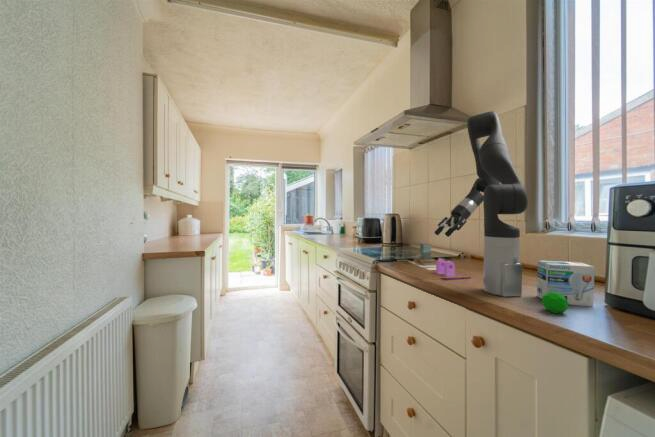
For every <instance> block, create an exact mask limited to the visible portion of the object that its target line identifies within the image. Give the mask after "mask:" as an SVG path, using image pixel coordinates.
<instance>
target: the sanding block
mask: <svg viewBox="0 0 655 437" xmlns="http://www.w3.org/2000/svg"><path fill="white" fill-rule="evenodd" d="M431 247H432V244H431V243H419V257H413V261H414V262H415V263H418V264H421V265H423V266H436V262H437V261H438V260H435V259H432V258H431V256H432V248H431Z"/></svg>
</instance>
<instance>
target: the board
mask: <svg viewBox="0 0 655 437" xmlns="http://www.w3.org/2000/svg"><path fill="white" fill-rule="evenodd" d="M407 262H408V263H410V264H413V265H415V266H417V267H420V268H422V269H426V270H428V271H436V266H423V265H421V264H418V263H415V262H414V260H411V261H410V260H407Z"/></svg>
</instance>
